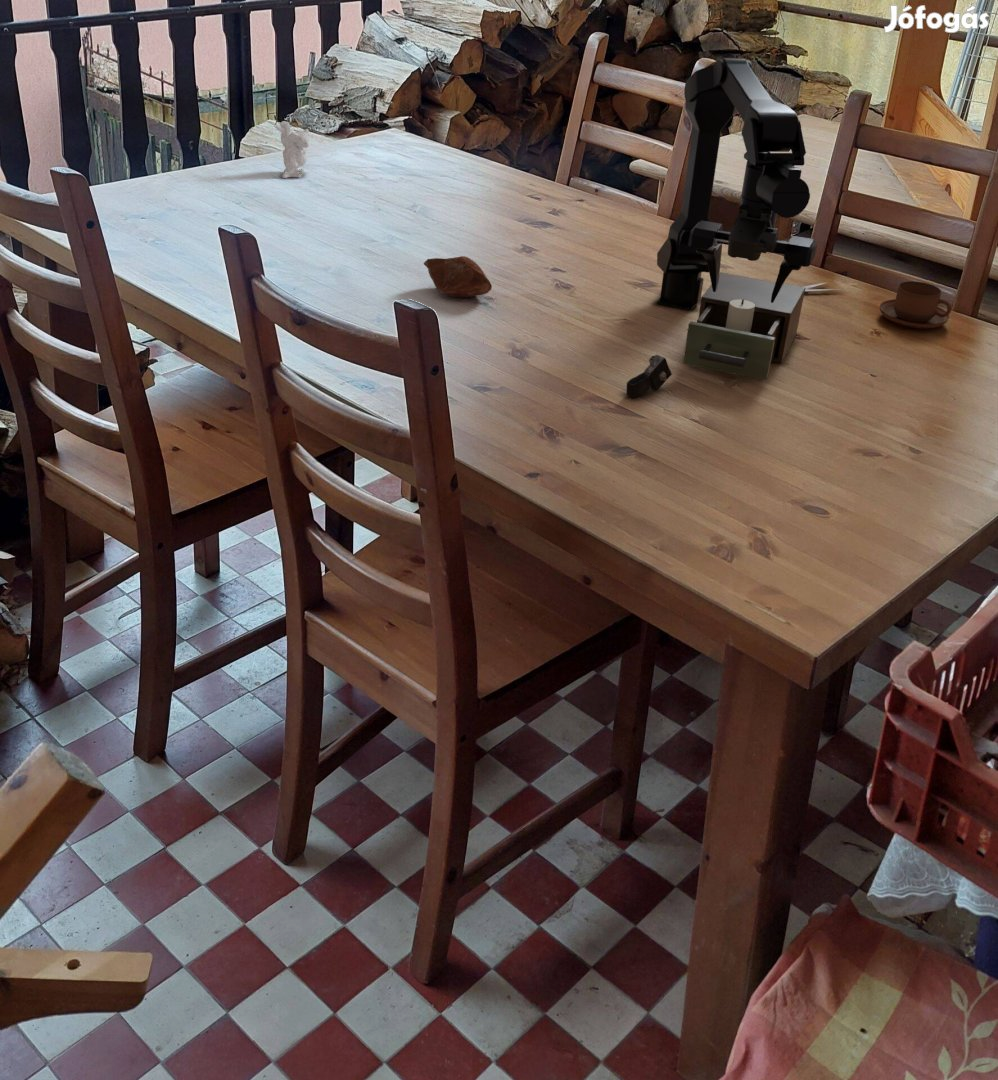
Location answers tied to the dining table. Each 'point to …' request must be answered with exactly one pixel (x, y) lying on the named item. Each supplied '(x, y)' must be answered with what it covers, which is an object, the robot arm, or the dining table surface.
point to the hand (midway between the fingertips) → (743, 296)
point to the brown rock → (458, 277)
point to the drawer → (733, 343)
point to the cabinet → (761, 303)
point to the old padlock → (649, 377)
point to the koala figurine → (293, 149)
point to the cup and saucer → (916, 306)
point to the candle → (740, 315)
